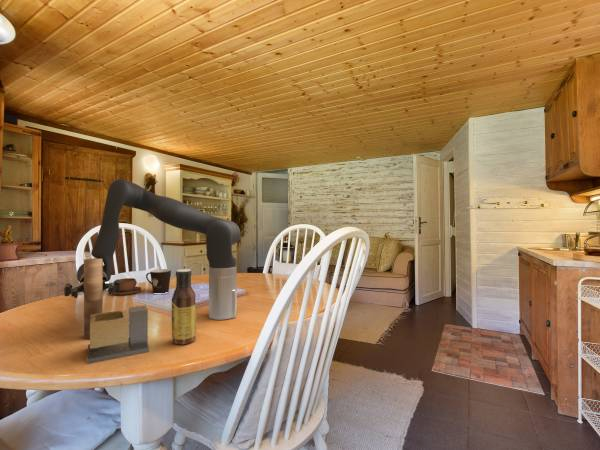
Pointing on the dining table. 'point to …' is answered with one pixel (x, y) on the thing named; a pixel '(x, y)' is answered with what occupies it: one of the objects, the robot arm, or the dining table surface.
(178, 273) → the sauce bottle
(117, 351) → the bracket
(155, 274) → the coffee mug
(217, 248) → the robot arm
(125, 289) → the cup and saucer
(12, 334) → the dining table surface
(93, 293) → the rod
